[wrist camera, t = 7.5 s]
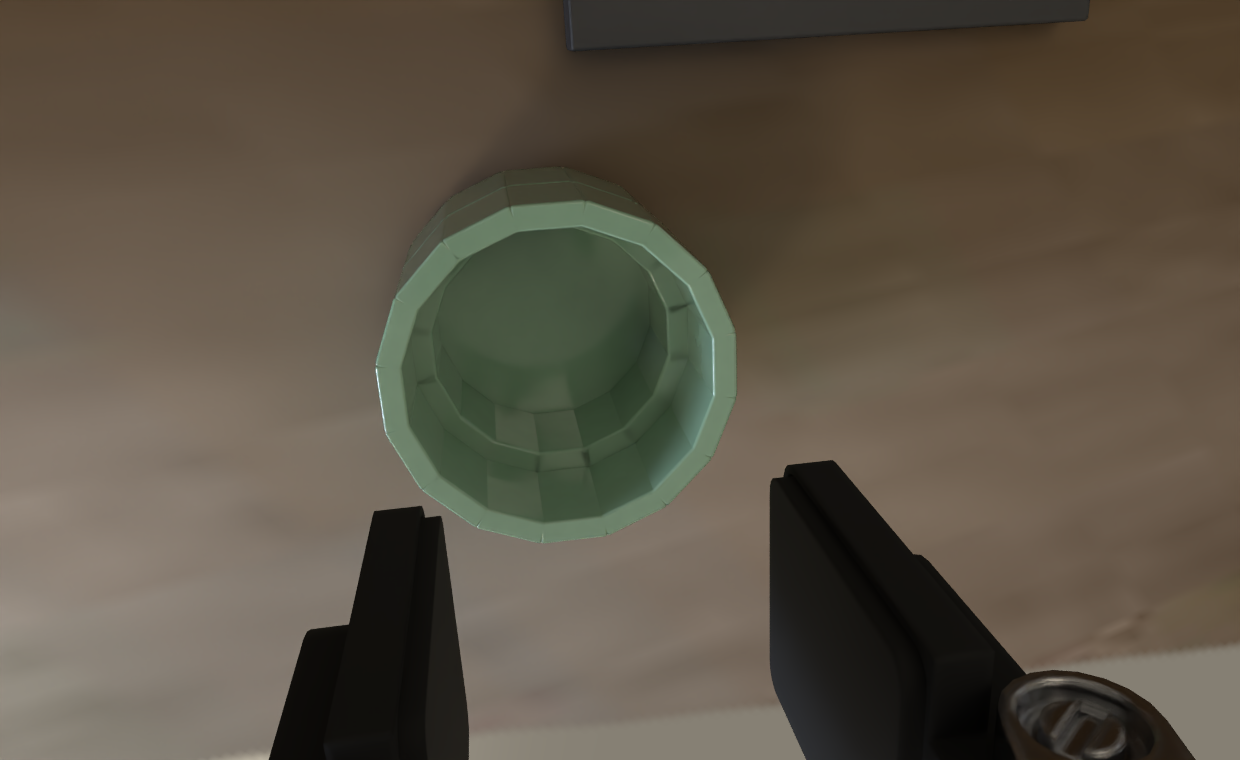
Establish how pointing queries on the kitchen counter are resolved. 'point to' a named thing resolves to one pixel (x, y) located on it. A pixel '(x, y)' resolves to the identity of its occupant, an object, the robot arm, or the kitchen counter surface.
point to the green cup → (554, 358)
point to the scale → (789, 19)
